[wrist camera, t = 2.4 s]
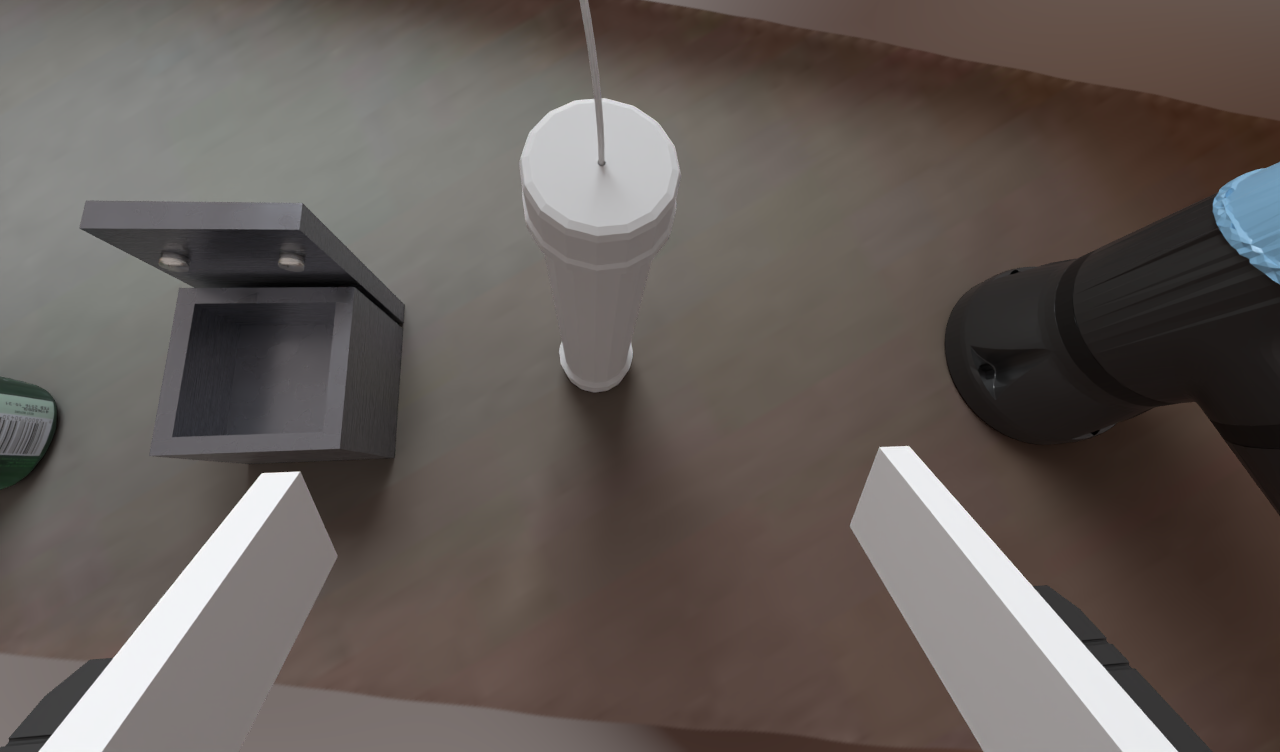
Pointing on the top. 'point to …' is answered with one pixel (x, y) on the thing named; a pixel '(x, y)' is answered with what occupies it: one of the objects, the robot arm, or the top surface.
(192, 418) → the grey open box
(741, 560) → the top surface
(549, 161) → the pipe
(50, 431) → the coffee jar
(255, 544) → the robot arm
